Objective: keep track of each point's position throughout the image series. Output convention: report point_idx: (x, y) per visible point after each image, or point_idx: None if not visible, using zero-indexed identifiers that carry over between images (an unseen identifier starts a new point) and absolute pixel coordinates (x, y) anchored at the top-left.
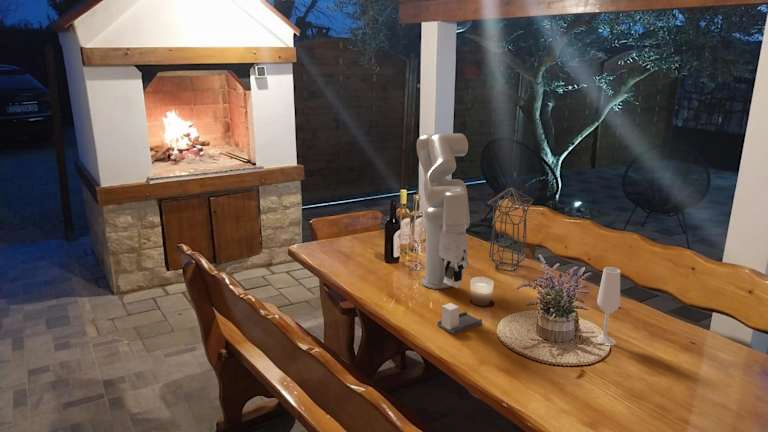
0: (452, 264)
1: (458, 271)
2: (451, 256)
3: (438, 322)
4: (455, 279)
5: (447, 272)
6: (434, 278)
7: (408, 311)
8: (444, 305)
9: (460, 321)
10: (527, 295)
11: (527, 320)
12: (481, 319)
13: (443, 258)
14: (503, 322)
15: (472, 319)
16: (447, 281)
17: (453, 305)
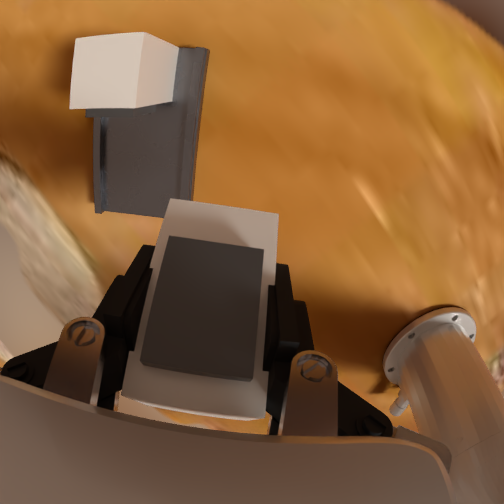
0: (226, 408)
1: (88, 328)
2: (25, 493)
3: (199, 48)
4: (137, 260)
5: (248, 296)
6: (441, 345)
7: (407, 85)
8: (135, 48)
9: (145, 140)
10: (177, 417)
11: (60, 315)
12: (95, 210)
13: (311, 442)
14: (76, 264)
15: (127, 193)
16: (223, 223)
17: (100, 94)
